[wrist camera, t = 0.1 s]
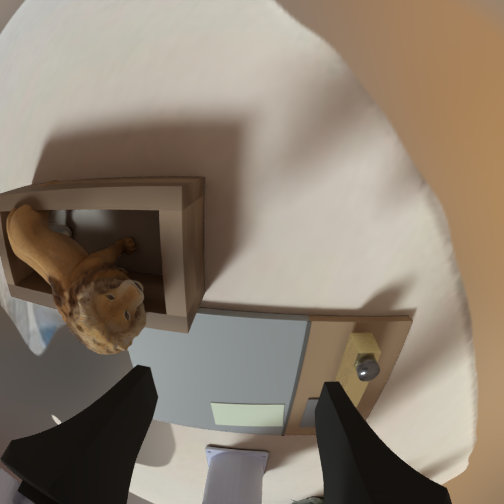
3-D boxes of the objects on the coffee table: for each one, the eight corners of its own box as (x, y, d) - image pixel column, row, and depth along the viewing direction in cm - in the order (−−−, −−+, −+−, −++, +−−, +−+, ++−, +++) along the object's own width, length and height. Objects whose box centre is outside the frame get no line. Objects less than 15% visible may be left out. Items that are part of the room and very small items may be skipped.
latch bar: (341, 409, 22) (347, 436, 19) (323, 410, 22) (328, 438, 19) (371, 332, 19) (385, 361, 16) (350, 332, 19) (361, 363, 16)
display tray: (204, 293, 20) (188, 333, 15) (43, 272, 21) (11, 296, 16) (204, 176, 17) (181, 186, 13) (30, 184, 18) (-9, 196, 13)
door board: (358, 426, 26) (365, 455, 21) (152, 413, 26) (141, 443, 22) (409, 315, 20) (431, 347, 16) (121, 297, 21) (95, 328, 17)
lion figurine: (188, 250, 19) (135, 325, 10) (163, 306, 21) (115, 389, 12) (43, 168, 17) (-41, 189, 9) (32, 223, 19) (-40, 260, 10)
